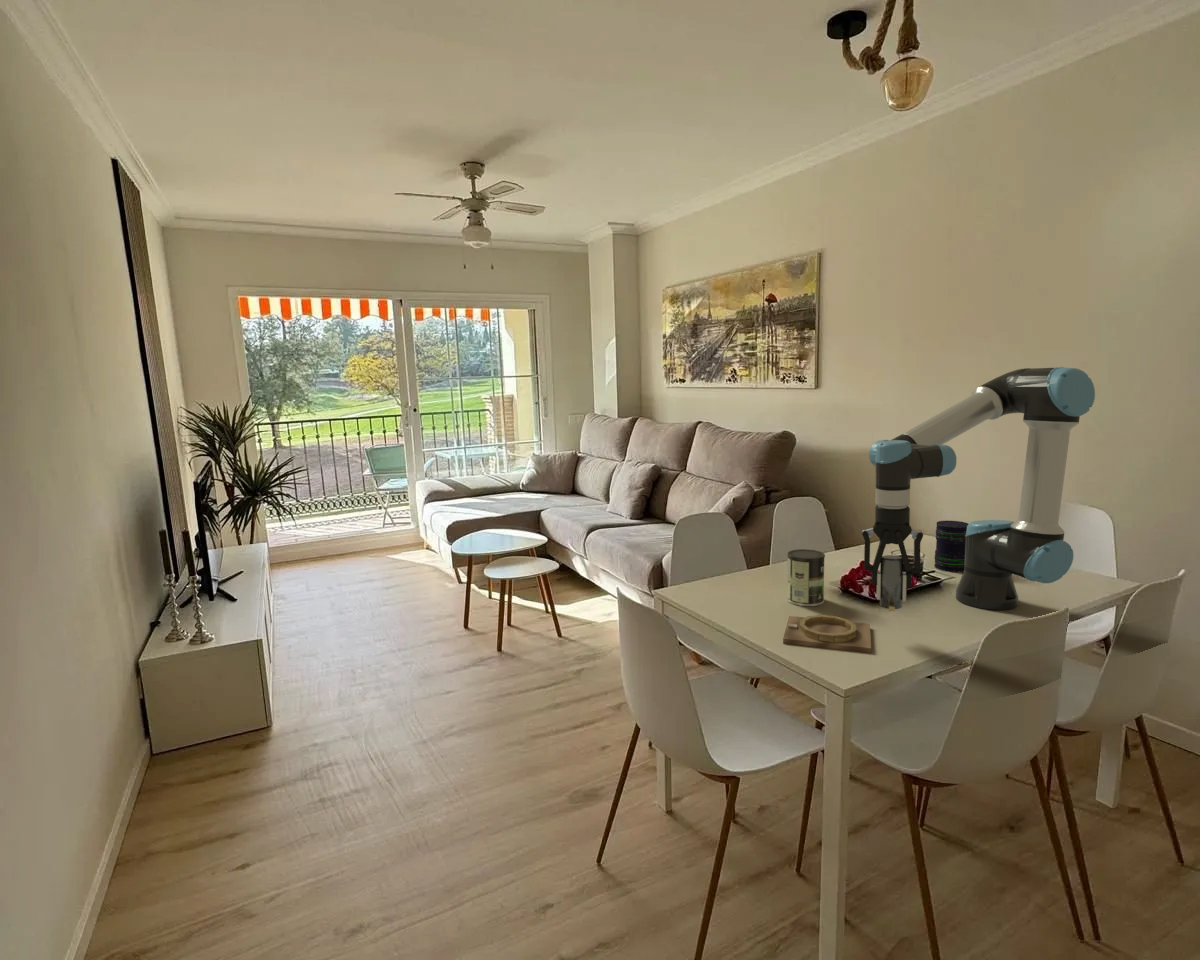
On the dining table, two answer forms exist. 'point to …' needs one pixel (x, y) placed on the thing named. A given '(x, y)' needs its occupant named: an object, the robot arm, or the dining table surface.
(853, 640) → the board
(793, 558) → the coffee can
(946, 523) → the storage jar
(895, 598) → the grey rounded cylinder
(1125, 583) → the dining table surface
